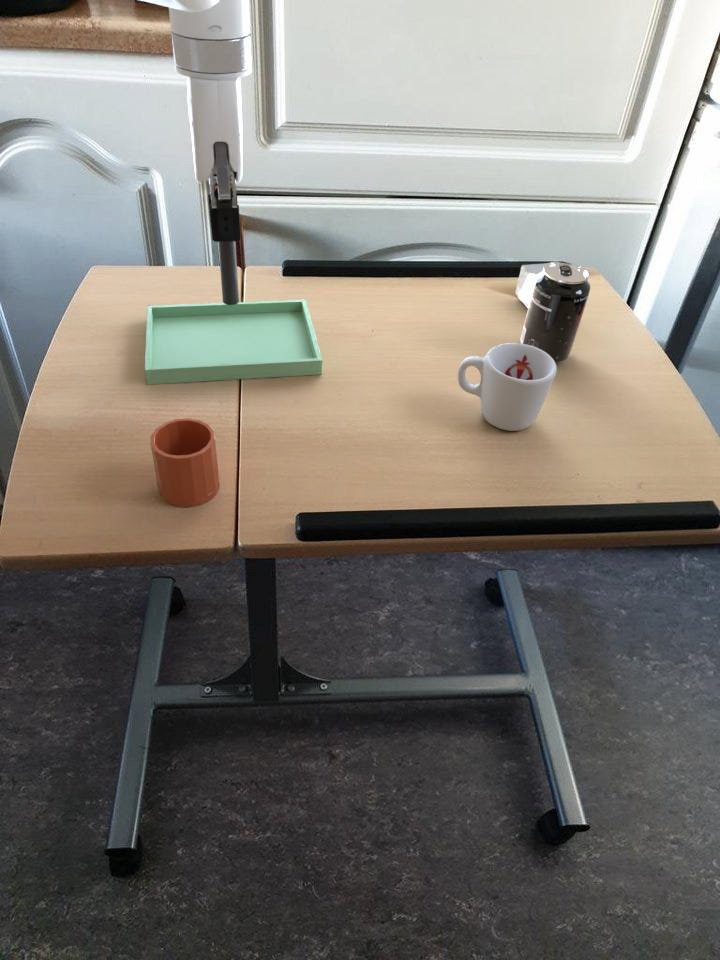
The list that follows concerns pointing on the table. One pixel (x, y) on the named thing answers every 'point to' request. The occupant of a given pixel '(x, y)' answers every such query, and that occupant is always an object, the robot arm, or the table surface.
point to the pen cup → (185, 462)
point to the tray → (230, 342)
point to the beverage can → (556, 309)
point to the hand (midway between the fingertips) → (225, 233)
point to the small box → (527, 281)
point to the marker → (228, 271)
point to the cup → (510, 383)
